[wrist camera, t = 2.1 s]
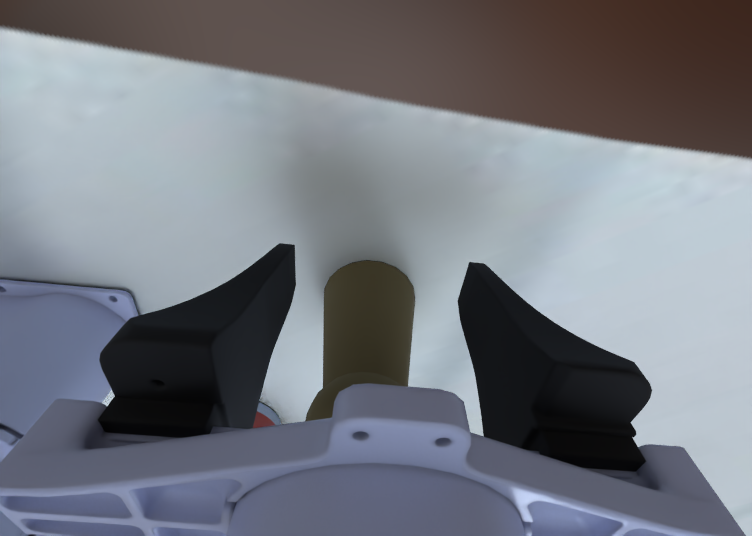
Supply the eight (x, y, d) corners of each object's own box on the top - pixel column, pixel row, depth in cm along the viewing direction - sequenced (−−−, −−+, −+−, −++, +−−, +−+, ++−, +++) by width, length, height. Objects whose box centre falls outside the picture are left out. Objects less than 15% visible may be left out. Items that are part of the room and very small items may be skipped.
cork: (377, 243, 21) (373, 406, 12) (432, 305, 24) (463, 477, 15) (304, 291, 23) (255, 461, 14) (362, 343, 26) (352, 514, 17)
